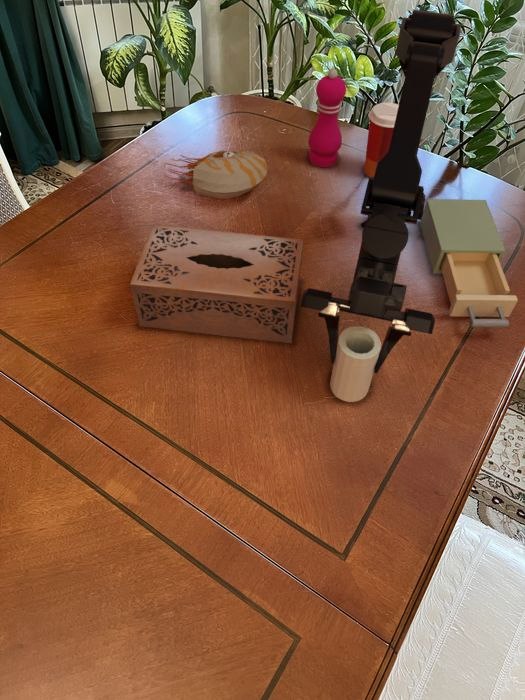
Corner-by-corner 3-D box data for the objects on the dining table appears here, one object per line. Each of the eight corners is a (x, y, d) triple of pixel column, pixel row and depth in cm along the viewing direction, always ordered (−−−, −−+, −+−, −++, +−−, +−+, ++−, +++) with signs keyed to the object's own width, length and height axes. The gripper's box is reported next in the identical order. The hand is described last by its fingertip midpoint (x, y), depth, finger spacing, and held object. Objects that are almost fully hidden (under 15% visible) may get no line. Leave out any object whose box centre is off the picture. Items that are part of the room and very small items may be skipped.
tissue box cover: (299, 281, 104) (303, 239, 96) (291, 343, 95) (295, 302, 87) (160, 267, 105) (152, 224, 98) (139, 326, 97) (129, 284, 89)
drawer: (515, 336, 96) (525, 319, 92) (455, 335, 96) (462, 318, 92) (489, 262, 107) (497, 245, 103) (435, 262, 106) (441, 245, 103)
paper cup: (397, 165, 127) (411, 105, 115) (390, 185, 122) (405, 124, 111) (363, 158, 128) (373, 97, 117) (355, 177, 123) (365, 116, 112)
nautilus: (155, 199, 118) (183, 162, 128) (254, 215, 114) (275, 175, 123) (148, 164, 112) (178, 128, 122) (252, 180, 108) (275, 141, 117)
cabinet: (494, 274, 106) (505, 250, 101) (433, 273, 106) (441, 249, 101) (476, 223, 115) (485, 199, 110) (419, 223, 115) (427, 198, 110)
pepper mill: (337, 170, 125) (349, 80, 109) (304, 166, 126) (312, 76, 110) (341, 152, 129) (353, 62, 113) (309, 148, 130) (317, 58, 114)
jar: (322, 381, 90) (330, 337, 82) (351, 364, 92) (361, 319, 84) (346, 408, 87) (357, 365, 79) (376, 390, 89) (389, 346, 81)
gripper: (308, 245, 75) (284, 360, 77) (452, 273, 72) (423, 392, 75) (315, 251, 86) (294, 352, 88) (440, 276, 83) (415, 379, 85)
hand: (353, 368), depth 84 cm, fingers closed on jar, 6 cm apart
